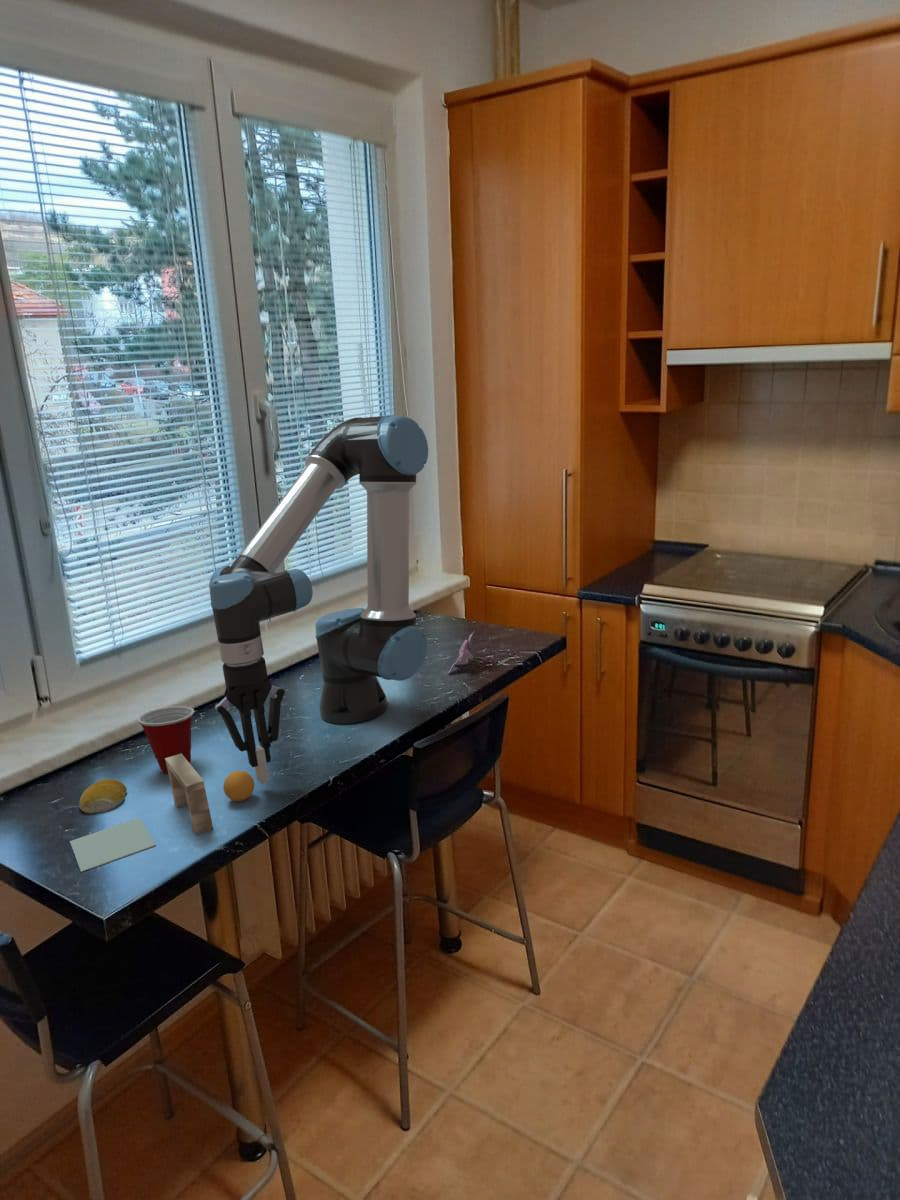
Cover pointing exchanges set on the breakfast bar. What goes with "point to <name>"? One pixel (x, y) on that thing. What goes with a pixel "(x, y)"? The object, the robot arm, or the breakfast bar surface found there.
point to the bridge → (189, 792)
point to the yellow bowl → (102, 796)
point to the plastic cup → (168, 732)
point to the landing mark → (111, 844)
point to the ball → (238, 785)
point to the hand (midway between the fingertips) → (263, 779)
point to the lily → (465, 651)
